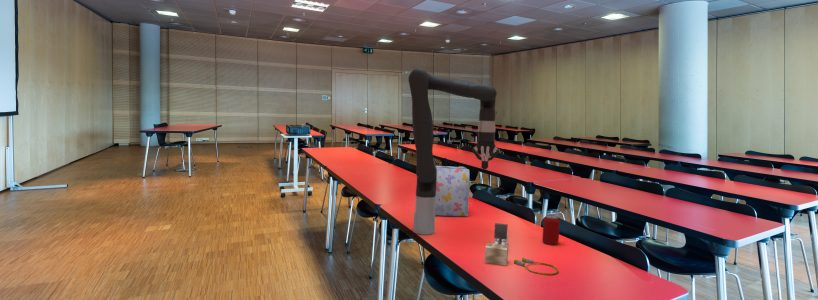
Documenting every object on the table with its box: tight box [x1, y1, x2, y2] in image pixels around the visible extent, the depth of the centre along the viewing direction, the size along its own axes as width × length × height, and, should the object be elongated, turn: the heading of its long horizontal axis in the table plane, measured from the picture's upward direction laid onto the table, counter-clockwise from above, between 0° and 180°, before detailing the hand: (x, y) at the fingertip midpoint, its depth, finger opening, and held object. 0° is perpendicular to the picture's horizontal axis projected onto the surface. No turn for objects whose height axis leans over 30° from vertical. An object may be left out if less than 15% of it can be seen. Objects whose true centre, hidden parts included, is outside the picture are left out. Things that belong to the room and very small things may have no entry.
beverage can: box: [542, 214, 561, 246], centre depth 190 cm, size 7×7×12 cm
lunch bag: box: [435, 165, 470, 217], centre depth 238 cm, size 22×17×26 cm
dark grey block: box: [493, 222, 509, 244], centre depth 173 cm, size 5×18×10 cm, turn 163°
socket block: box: [484, 242, 509, 266], centre depth 165 cm, size 8×6×6 cm
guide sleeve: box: [493, 233, 509, 246], centre depth 181 cm, size 5×16×4 cm, turn 163°
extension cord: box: [513, 257, 559, 276], centre depth 160 cm, size 12×16×2 cm
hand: (484, 169), depth 195 cm, fingers closed
